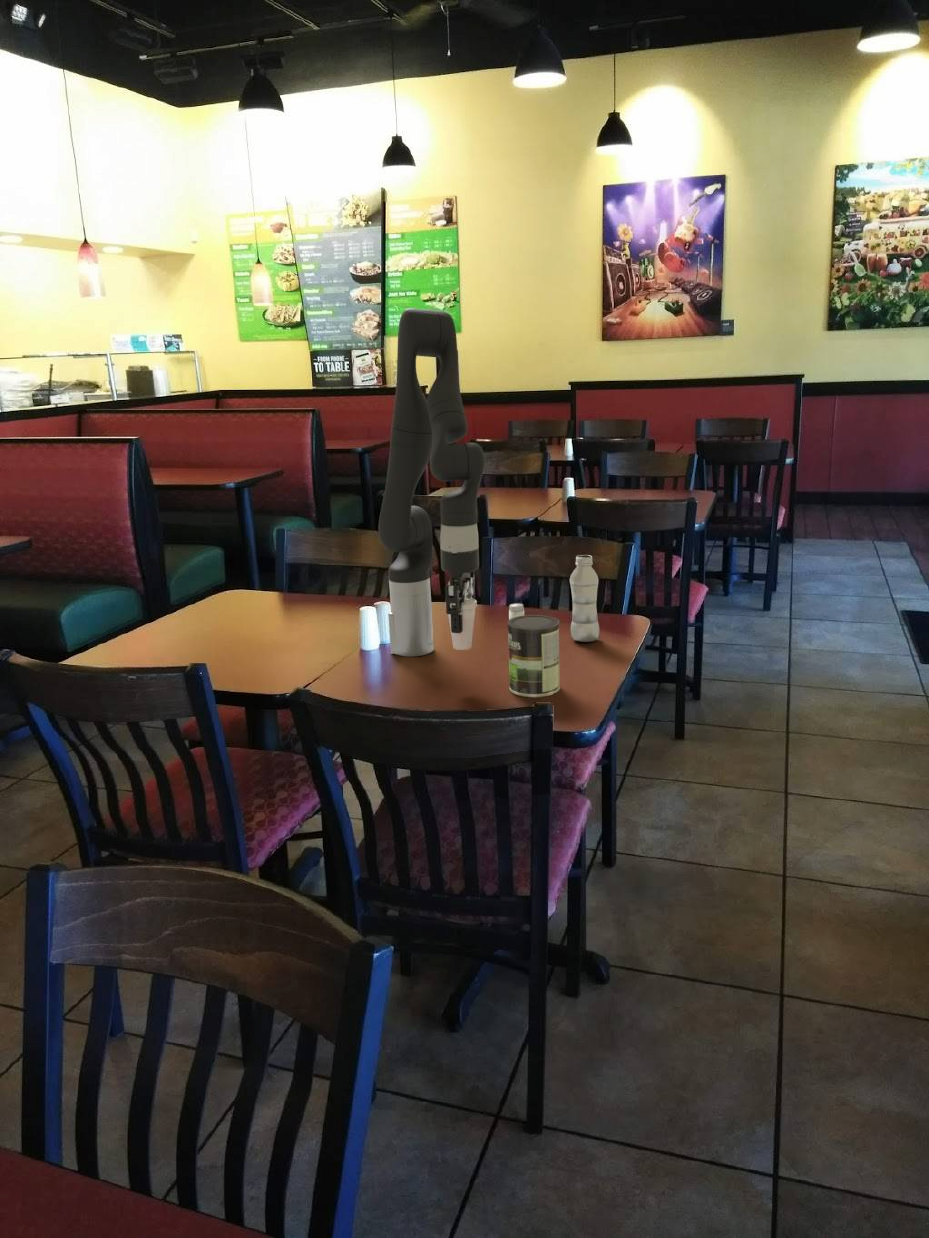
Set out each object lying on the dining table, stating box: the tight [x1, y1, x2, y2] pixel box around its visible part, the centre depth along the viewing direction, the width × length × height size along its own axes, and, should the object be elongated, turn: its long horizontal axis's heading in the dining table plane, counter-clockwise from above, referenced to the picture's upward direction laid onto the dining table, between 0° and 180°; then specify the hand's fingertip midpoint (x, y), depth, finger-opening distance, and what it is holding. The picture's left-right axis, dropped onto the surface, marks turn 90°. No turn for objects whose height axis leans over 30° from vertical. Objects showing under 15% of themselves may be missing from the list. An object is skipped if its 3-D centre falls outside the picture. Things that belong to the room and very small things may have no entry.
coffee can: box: [506, 614, 561, 698], centre depth 186 cm, size 10×10×14 cm
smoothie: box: [444, 597, 478, 651], centre depth 187 cm, size 6×6×14 cm
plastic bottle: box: [569, 554, 600, 643], centre depth 214 cm, size 6×7×20 cm
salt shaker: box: [508, 603, 525, 621], centre depth 220 cm, size 4×4×8 cm
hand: (461, 627), depth 188 cm, fingers closed on smoothie, 6 cm apart
